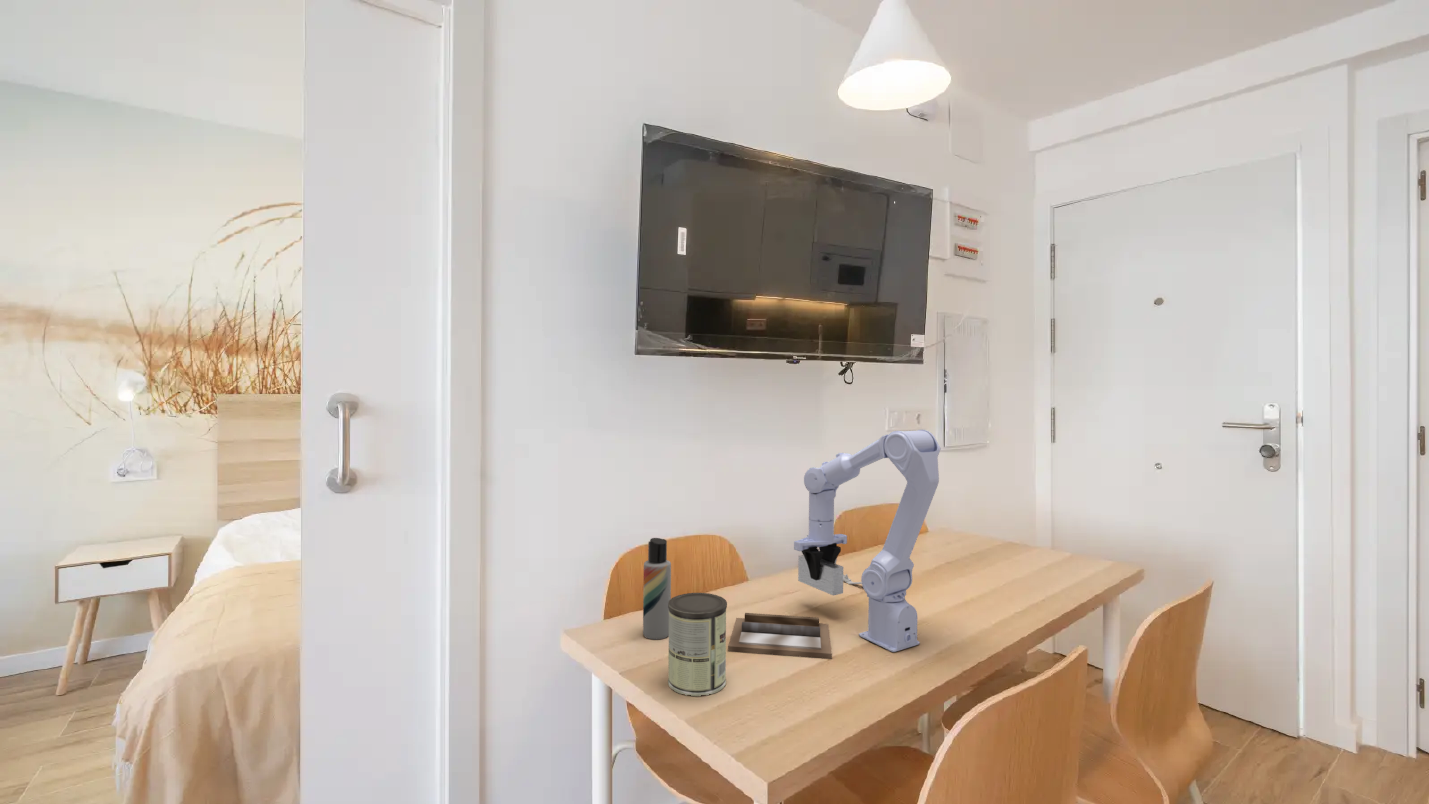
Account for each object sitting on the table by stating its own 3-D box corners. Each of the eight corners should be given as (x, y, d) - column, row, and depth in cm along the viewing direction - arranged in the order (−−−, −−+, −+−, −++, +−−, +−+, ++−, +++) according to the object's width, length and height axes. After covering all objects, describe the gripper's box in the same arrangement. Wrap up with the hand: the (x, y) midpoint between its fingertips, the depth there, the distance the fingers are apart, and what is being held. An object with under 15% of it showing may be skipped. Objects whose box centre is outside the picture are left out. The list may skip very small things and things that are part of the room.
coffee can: (668, 668, 109) (669, 592, 109) (724, 668, 109) (725, 592, 109) (665, 697, 98) (666, 612, 98) (727, 697, 99) (728, 612, 99)
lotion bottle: (656, 626, 128) (657, 534, 128) (675, 633, 124) (676, 539, 124) (637, 635, 124) (638, 539, 123) (656, 642, 120) (657, 544, 120)
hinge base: (828, 628, 128) (828, 614, 128) (831, 658, 113) (831, 643, 113) (736, 622, 131) (736, 608, 131) (728, 651, 116) (728, 636, 116)
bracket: (871, 582, 152) (832, 555, 164) (867, 602, 153) (828, 574, 165) (876, 581, 153) (837, 554, 165) (872, 601, 154) (833, 573, 166)
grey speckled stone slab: (843, 593, 133) (843, 566, 133) (833, 595, 131) (833, 568, 131) (807, 578, 143) (808, 554, 143) (798, 580, 142) (798, 555, 141)
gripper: (832, 513, 144) (832, 568, 144) (785, 519, 137) (785, 578, 137) (853, 518, 138) (852, 576, 138) (805, 525, 131) (805, 586, 131)
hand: (820, 577), depth 137 cm, fingers closed on grey speckled stone slab, 3 cm apart
